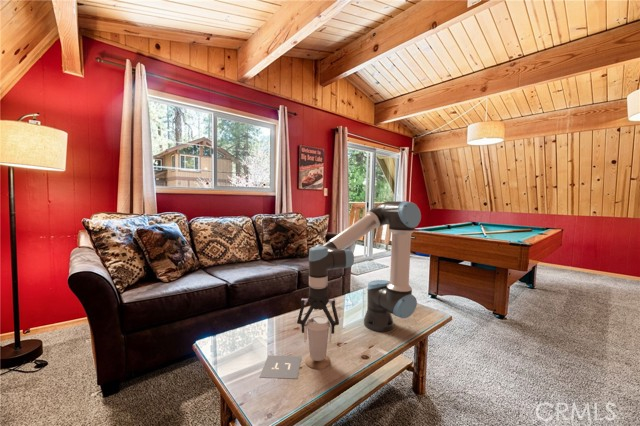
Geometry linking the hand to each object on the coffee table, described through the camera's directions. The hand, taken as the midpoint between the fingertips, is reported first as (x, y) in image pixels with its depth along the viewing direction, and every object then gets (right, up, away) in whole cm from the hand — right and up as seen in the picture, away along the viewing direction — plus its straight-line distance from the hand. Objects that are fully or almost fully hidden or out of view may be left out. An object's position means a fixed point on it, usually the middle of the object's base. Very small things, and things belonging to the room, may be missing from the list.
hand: (318, 340), depth 110 cm
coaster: (0, -9, 0) cm, 9 cm away
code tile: (-14, -9, -3) cm, 17 cm away
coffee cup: (0, -7, 0) cm, 7 cm away
